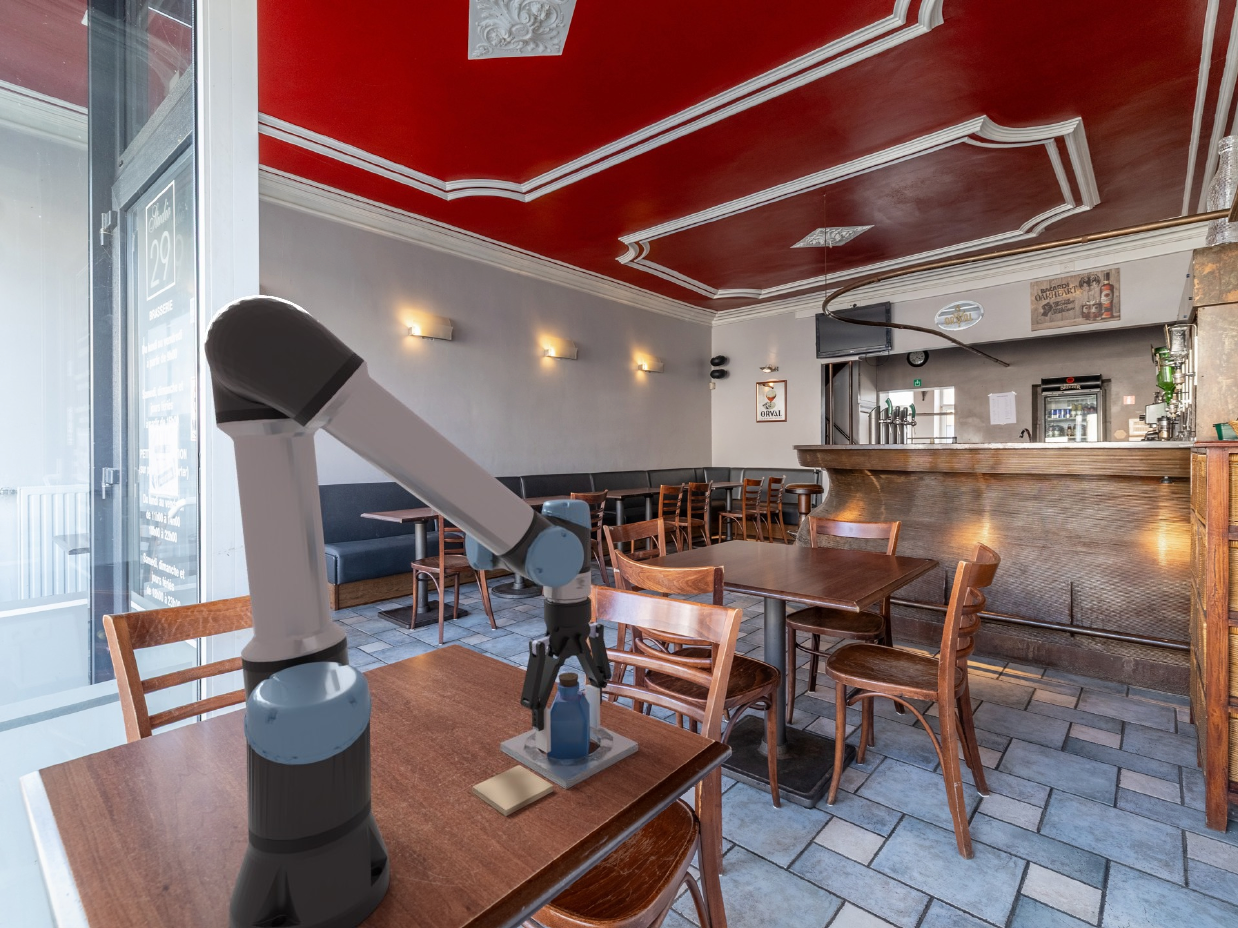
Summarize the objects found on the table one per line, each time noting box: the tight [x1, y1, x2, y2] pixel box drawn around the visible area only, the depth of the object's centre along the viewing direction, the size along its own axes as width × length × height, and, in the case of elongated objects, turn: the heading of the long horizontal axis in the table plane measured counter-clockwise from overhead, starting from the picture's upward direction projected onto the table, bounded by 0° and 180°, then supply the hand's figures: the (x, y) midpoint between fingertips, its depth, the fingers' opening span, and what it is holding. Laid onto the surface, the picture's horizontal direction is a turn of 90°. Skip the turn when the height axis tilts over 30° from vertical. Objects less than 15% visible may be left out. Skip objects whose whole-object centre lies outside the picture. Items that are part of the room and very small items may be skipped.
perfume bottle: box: [546, 672, 591, 759], centre depth 94 cm, size 6×6×12 cm
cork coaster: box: [471, 764, 554, 817], centre depth 83 cm, size 8×8×1 cm
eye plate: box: [500, 725, 639, 790], centre depth 95 cm, size 15×16×1 cm
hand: (569, 736), depth 95 cm, fingers open, 10 cm apart
